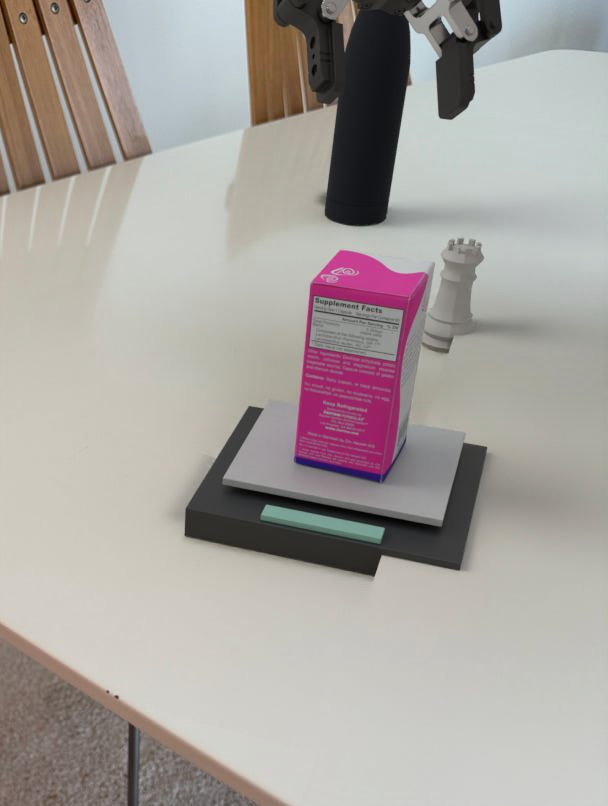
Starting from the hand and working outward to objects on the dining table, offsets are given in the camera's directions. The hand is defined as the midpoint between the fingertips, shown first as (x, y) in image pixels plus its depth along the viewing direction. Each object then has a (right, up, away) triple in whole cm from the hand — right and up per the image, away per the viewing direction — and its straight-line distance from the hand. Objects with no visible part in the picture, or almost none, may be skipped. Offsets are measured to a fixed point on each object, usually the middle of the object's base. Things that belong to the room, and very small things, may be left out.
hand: (394, 106), depth 62 cm
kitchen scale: (-3, -23, +4) cm, 24 cm away
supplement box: (-2, -20, +3) cm, 21 cm away
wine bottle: (+8, +12, +47) cm, 49 cm away
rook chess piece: (+10, -8, +23) cm, 26 cm away
